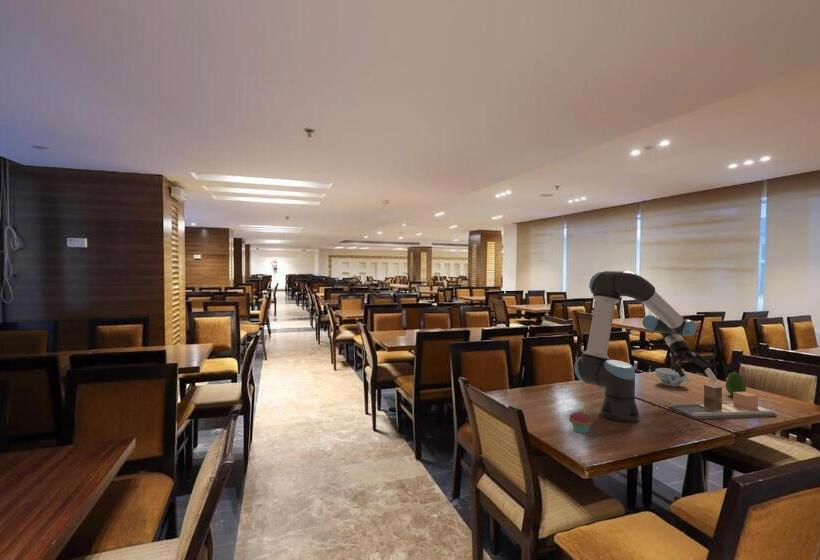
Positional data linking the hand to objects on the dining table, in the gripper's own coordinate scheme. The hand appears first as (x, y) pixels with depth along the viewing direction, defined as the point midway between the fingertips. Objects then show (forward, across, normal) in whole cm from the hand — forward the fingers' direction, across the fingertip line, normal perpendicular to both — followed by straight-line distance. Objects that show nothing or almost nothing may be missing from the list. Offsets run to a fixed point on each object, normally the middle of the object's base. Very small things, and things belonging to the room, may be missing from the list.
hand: (701, 382), depth 182 cm
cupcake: (+23, +72, +7) cm, 76 cm away
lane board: (+13, -3, -3) cm, 14 cm away
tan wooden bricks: (+13, -9, -2) cm, 16 cm away
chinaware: (-17, -15, -34) cm, 41 cm away
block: (+12, -15, -2) cm, 19 cm away
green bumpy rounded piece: (-1, -32, -18) cm, 37 cm away
